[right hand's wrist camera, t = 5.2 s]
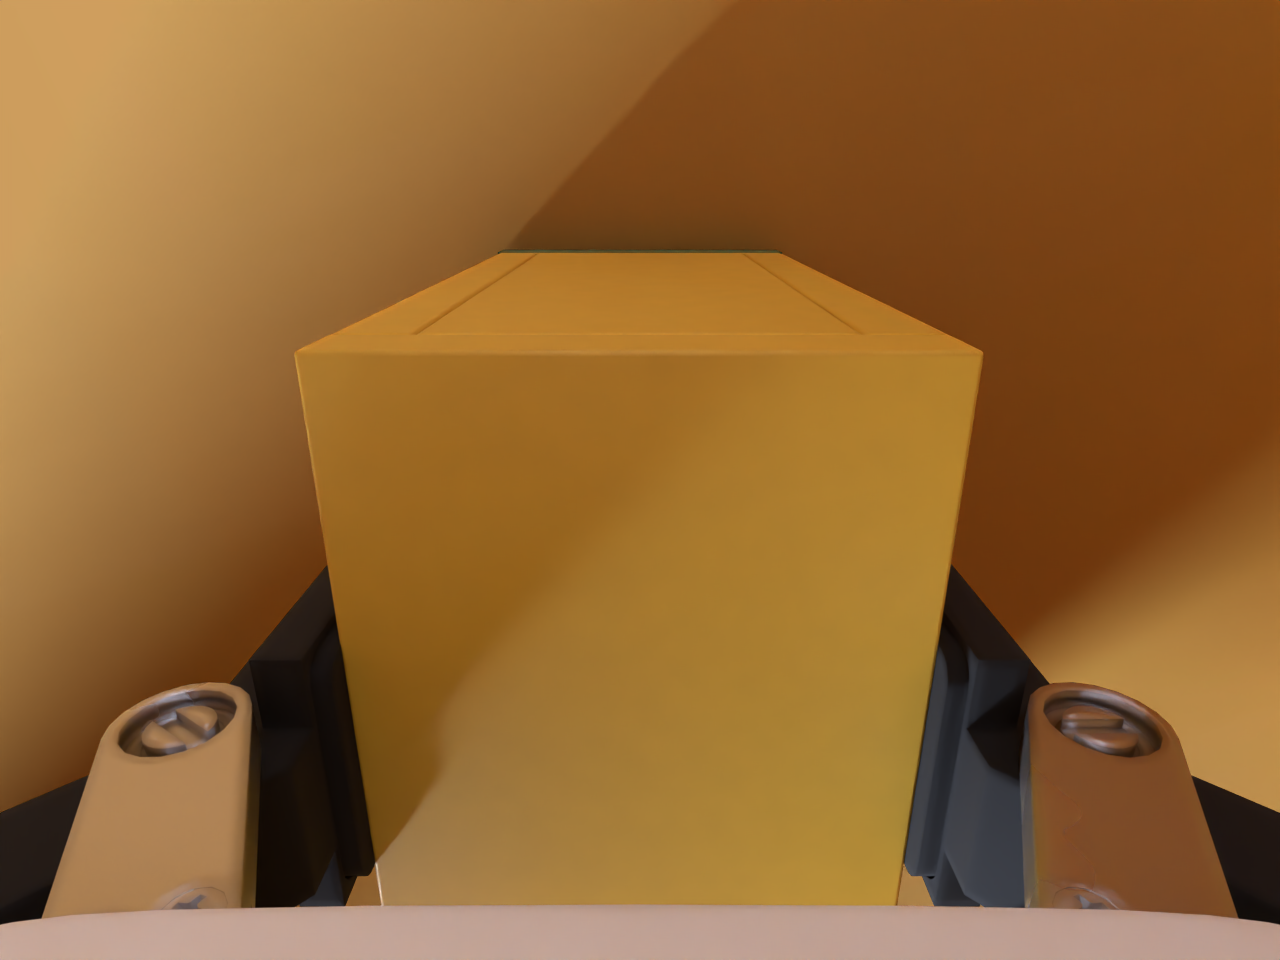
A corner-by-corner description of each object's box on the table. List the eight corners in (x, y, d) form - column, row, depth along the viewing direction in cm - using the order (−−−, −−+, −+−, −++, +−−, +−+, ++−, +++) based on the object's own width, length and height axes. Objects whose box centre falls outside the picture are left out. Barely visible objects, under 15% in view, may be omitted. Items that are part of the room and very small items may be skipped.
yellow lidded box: (742, 813, 23) (829, 1345, 13) (536, 813, 23) (448, 1345, 13) (776, 249, 18) (988, 349, 7) (503, 249, 18) (289, 349, 7)
